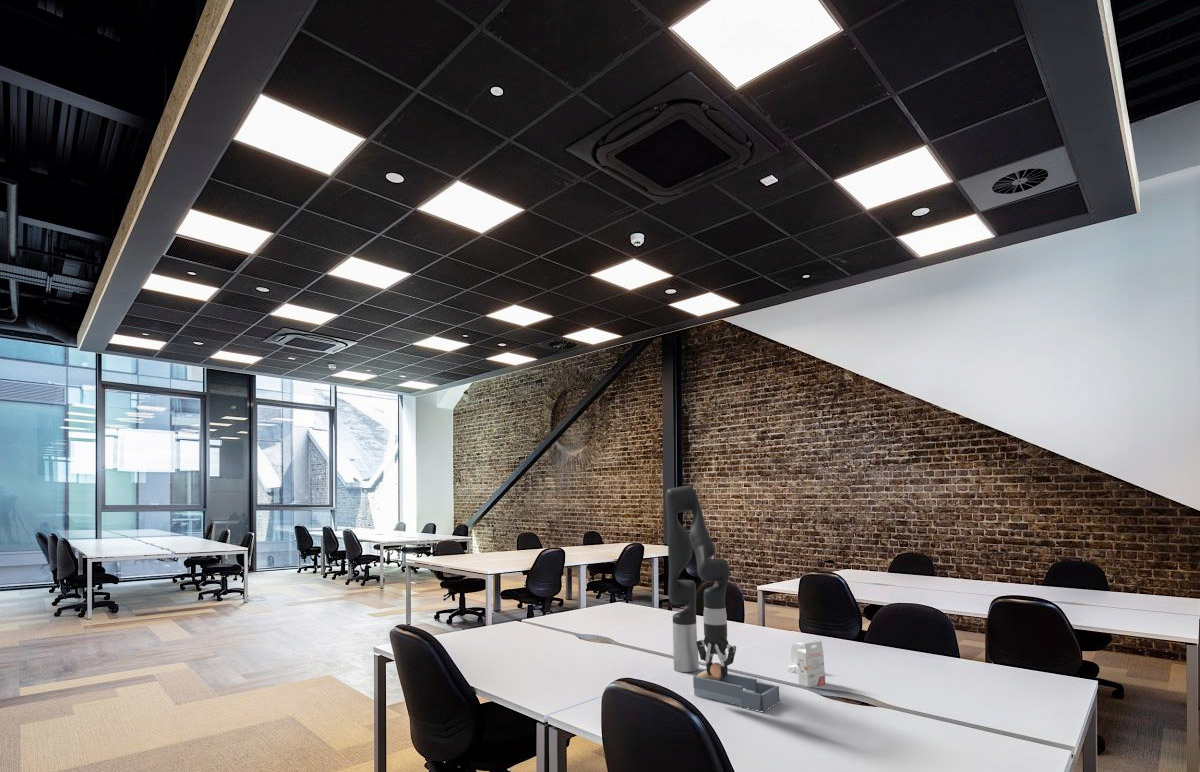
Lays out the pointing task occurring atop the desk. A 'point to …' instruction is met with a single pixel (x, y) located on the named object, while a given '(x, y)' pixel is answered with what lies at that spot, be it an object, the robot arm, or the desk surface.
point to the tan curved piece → (708, 676)
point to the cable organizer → (795, 656)
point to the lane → (738, 691)
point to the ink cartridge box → (811, 665)
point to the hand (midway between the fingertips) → (717, 675)
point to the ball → (716, 669)
